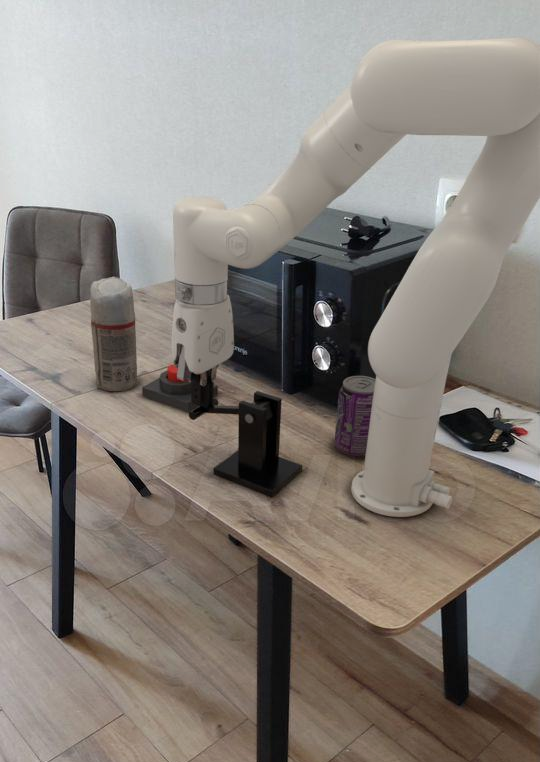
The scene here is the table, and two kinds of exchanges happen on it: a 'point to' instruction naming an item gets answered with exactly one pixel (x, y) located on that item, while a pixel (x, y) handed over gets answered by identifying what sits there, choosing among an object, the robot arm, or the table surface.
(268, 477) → the bracket
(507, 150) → the robot arm
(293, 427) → the table surface
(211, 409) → the lever
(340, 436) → the beverage can
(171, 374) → the button
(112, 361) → the spray can
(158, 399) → the button block
